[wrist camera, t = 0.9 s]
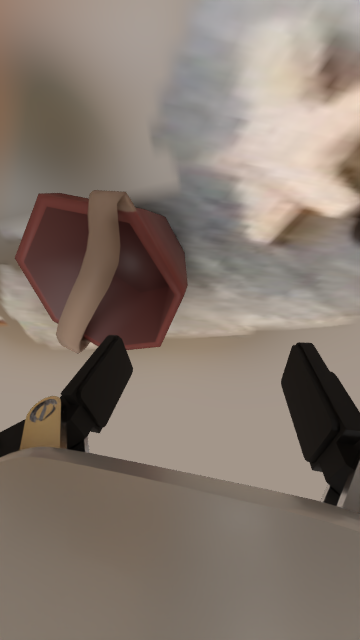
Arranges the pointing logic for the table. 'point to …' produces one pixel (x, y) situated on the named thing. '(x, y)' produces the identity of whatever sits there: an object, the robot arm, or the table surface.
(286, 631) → the robot arm
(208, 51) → the table surface
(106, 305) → the bucket
